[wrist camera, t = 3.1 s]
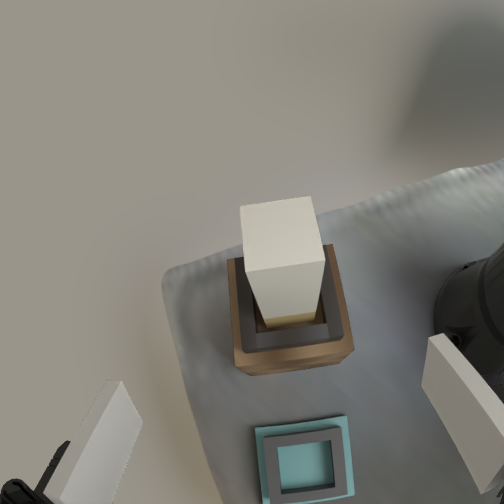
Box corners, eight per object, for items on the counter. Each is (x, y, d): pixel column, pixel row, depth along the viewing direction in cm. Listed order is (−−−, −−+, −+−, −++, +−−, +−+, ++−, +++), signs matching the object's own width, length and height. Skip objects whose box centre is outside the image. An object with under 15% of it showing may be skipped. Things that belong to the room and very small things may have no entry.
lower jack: (345, 415, 30) (349, 416, 27) (353, 492, 25) (357, 500, 23) (255, 427, 31) (252, 429, 28) (264, 504, 26) (261, 513, 24)
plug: (306, 278, 28) (310, 195, 17) (314, 321, 26) (325, 260, 15) (262, 284, 28) (239, 206, 17) (267, 328, 26) (245, 271, 16)
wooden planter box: (324, 283, 38) (334, 233, 27) (338, 363, 33) (358, 345, 22) (243, 294, 38) (222, 249, 28) (251, 376, 34) (230, 363, 23)
